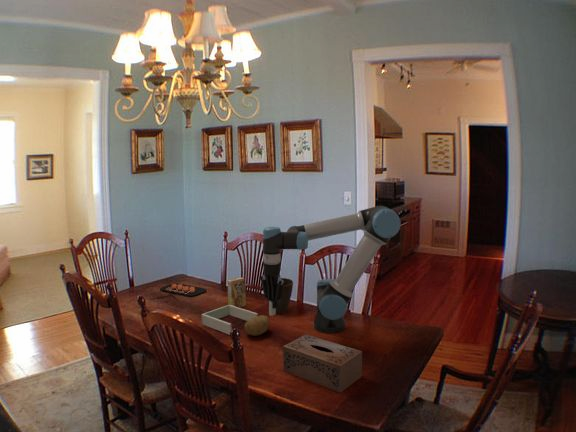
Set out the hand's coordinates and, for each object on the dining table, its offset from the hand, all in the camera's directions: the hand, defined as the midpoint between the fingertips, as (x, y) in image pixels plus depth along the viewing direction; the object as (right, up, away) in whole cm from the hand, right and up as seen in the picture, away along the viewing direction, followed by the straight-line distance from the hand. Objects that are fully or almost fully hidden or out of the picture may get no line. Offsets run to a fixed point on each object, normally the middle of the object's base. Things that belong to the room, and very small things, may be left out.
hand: (272, 314), depth 195 cm
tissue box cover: (+20, -16, -29) cm, 39 cm away
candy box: (-21, -6, +45) cm, 50 cm away
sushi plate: (-61, -4, +69) cm, 92 cm away
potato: (-7, -11, +8) cm, 15 cm away
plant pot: (+2, -7, +37) cm, 38 cm away
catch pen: (-22, -9, +21) cm, 31 cm away
